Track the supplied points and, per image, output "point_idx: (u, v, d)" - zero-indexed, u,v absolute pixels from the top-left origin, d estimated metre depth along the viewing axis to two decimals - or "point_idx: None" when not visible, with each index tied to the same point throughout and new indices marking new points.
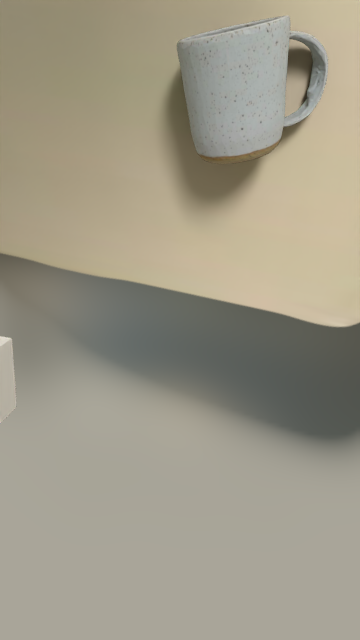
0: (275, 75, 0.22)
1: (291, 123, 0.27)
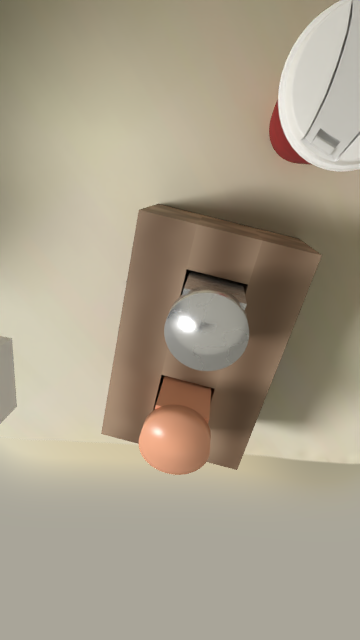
0: None
1: None
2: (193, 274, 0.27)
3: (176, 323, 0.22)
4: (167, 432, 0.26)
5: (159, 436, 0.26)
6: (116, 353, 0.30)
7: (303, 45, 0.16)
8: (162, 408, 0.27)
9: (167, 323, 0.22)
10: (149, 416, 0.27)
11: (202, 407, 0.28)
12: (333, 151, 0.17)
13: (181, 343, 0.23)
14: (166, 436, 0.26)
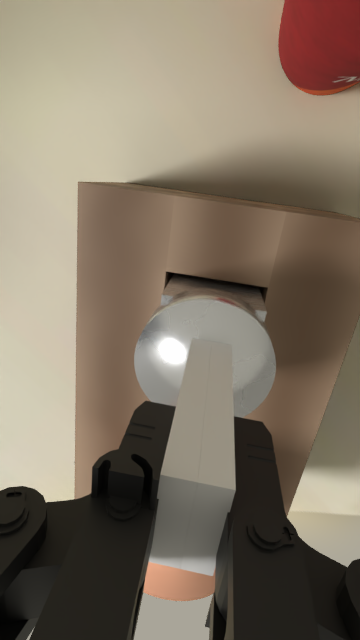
0: None
1: None
2: None
3: (152, 354, 0.13)
4: None
5: None
6: (77, 405, 0.20)
7: None
8: None
9: (138, 355, 0.14)
10: None
11: None
12: None
13: (164, 385, 0.14)
14: None
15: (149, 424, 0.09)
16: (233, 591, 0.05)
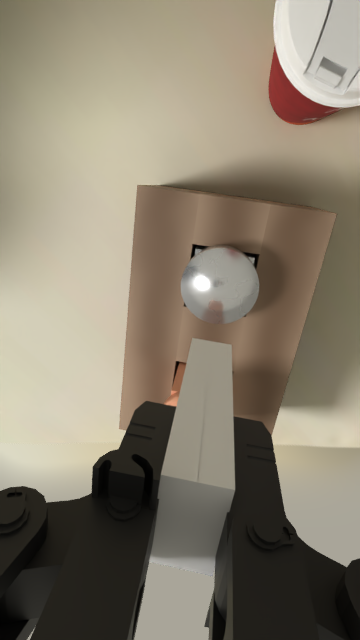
0: None
1: None
2: None
3: (191, 280, 0.24)
4: None
5: None
6: (127, 341, 0.29)
7: None
8: (178, 393, 0.25)
9: (183, 281, 0.24)
10: (165, 403, 0.25)
11: None
12: (340, 81, 0.16)
13: (197, 299, 0.25)
14: None
15: (149, 424, 0.09)
16: (232, 591, 0.05)
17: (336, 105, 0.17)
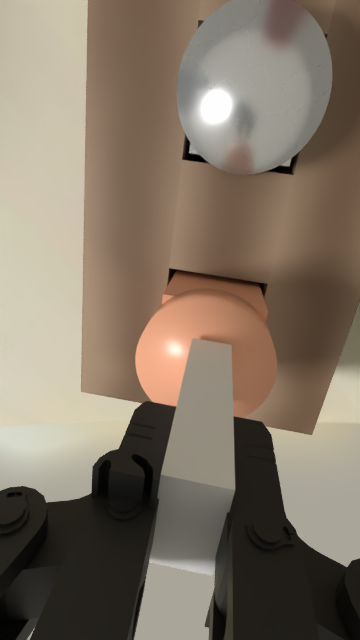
0: None
1: None
2: None
3: (197, 77, 0.12)
4: (189, 336, 0.13)
5: (174, 347, 0.13)
6: (86, 236, 0.17)
7: None
8: (176, 297, 0.14)
9: (181, 80, 0.13)
10: (152, 316, 0.14)
11: (250, 299, 0.15)
12: None
13: (208, 121, 0.13)
14: (187, 345, 0.13)
15: (149, 424, 0.09)
16: (233, 591, 0.05)
17: None
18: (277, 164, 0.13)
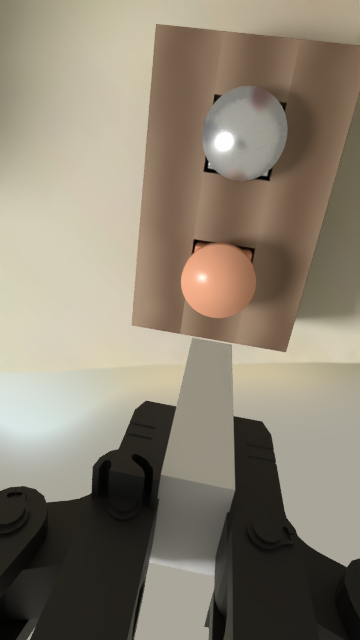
0: None
1: None
2: None
3: (214, 127, 0.23)
4: (210, 265, 0.25)
5: (202, 272, 0.25)
6: (142, 218, 0.27)
7: None
8: (202, 246, 0.26)
9: (205, 129, 0.23)
10: None
11: (243, 250, 0.27)
12: None
13: (220, 151, 0.23)
14: (209, 270, 0.25)
15: (149, 424, 0.09)
16: (232, 591, 0.05)
17: None
18: (258, 175, 0.23)
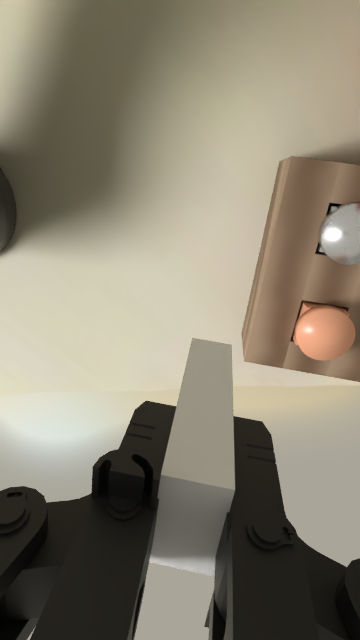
0: None
1: None
2: None
3: (332, 229, 0.32)
4: (321, 323, 0.34)
5: (314, 328, 0.34)
6: (263, 285, 0.36)
7: None
8: (313, 308, 0.35)
9: (325, 230, 0.32)
10: (302, 316, 0.35)
11: (339, 309, 0.36)
12: None
13: (334, 244, 0.32)
14: (320, 327, 0.34)
15: (149, 424, 0.09)
16: (232, 591, 0.05)
17: None
18: None
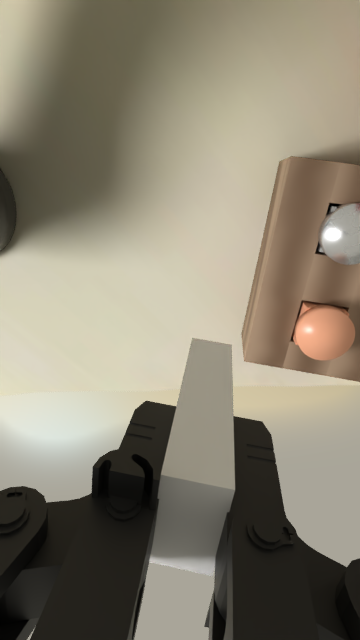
0: None
1: None
2: None
3: (332, 229, 0.32)
4: (321, 323, 0.34)
5: (314, 328, 0.34)
6: (263, 285, 0.36)
7: None
8: (313, 308, 0.35)
9: (325, 230, 0.32)
10: (302, 316, 0.35)
11: (339, 309, 0.36)
12: None
13: (334, 244, 0.32)
14: (320, 327, 0.34)
15: (149, 424, 0.09)
16: (232, 591, 0.05)
17: None
18: None
